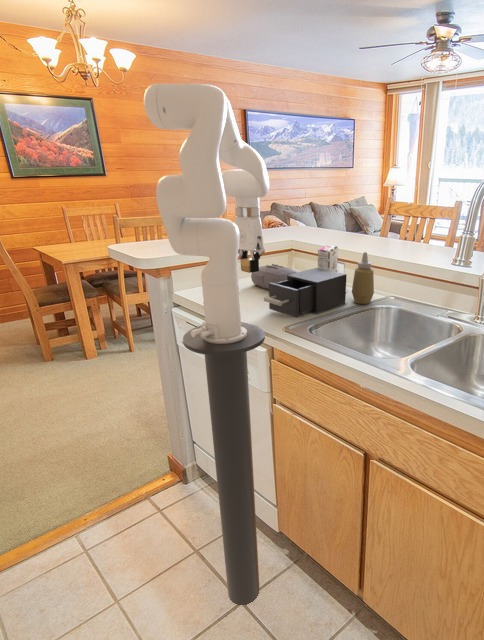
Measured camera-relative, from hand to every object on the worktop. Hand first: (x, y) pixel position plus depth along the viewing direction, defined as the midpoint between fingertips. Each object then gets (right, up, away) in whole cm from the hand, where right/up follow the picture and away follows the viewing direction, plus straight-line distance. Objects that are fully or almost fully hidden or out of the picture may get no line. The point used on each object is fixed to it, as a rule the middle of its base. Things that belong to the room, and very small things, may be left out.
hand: (250, 270), depth 145 cm
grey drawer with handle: (+14, -13, +1) cm, 19 cm away
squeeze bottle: (+39, -9, +14) cm, 42 cm away
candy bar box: (+26, -2, +29) cm, 39 cm away
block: (0, 0, 0) cm, 0 cm away
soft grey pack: (+6, 0, +31) cm, 32 cm away
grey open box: (+22, -10, +10) cm, 26 cm away
